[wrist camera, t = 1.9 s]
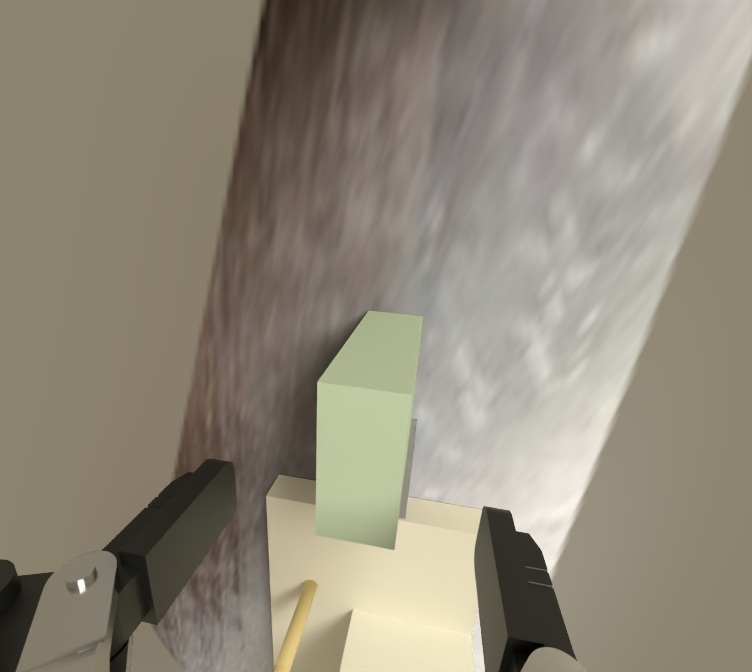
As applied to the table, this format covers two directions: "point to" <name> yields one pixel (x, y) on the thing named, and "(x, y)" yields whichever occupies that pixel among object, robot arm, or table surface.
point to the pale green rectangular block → (367, 431)
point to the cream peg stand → (371, 589)
